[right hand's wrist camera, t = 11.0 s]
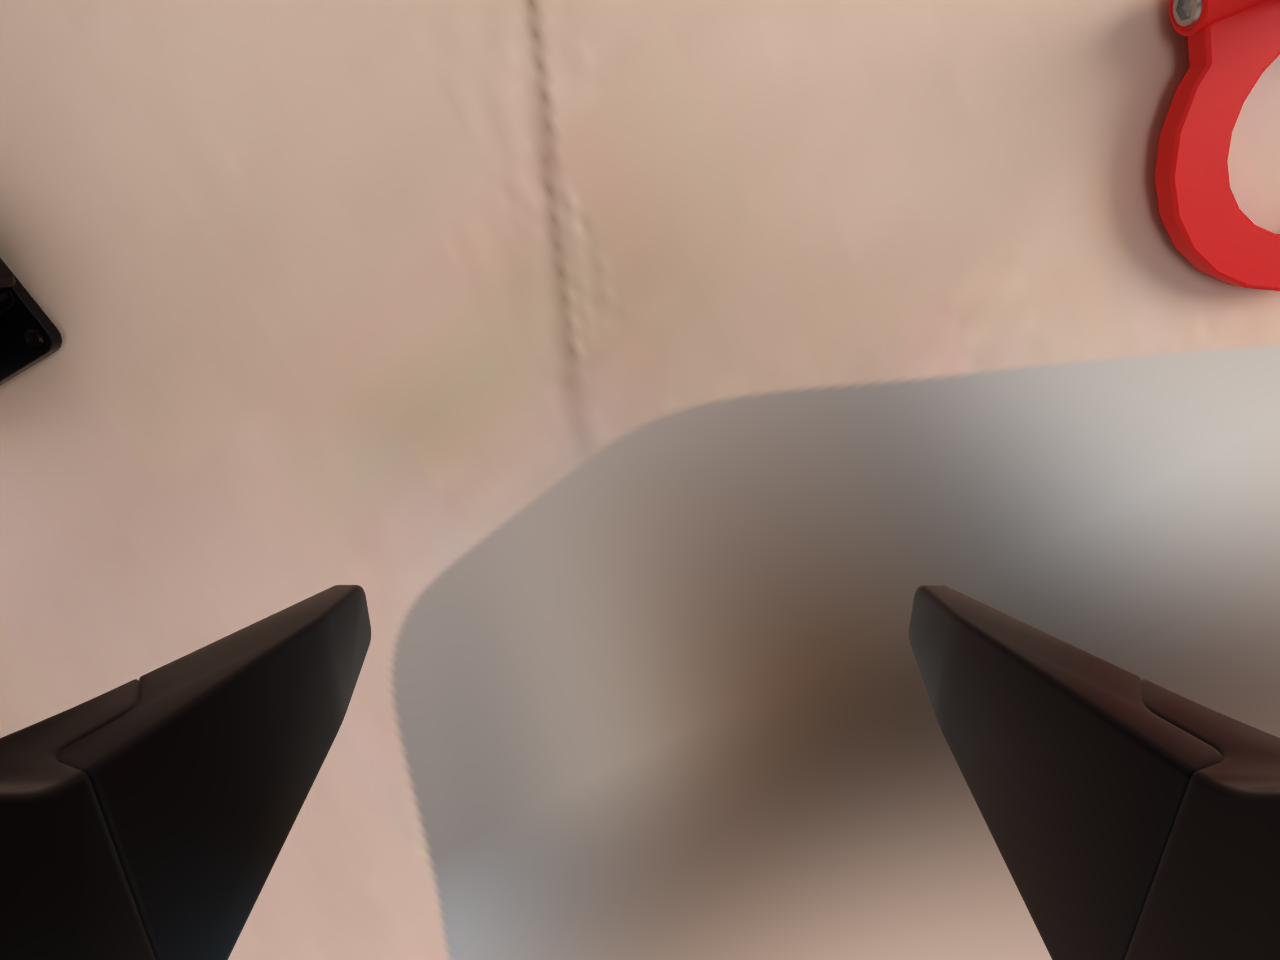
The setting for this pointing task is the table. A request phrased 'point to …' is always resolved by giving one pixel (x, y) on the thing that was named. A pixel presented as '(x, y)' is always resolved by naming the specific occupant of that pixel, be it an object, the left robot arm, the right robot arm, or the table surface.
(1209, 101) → the tow hook
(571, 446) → the table surface
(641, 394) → the table surface
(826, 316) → the table surface
